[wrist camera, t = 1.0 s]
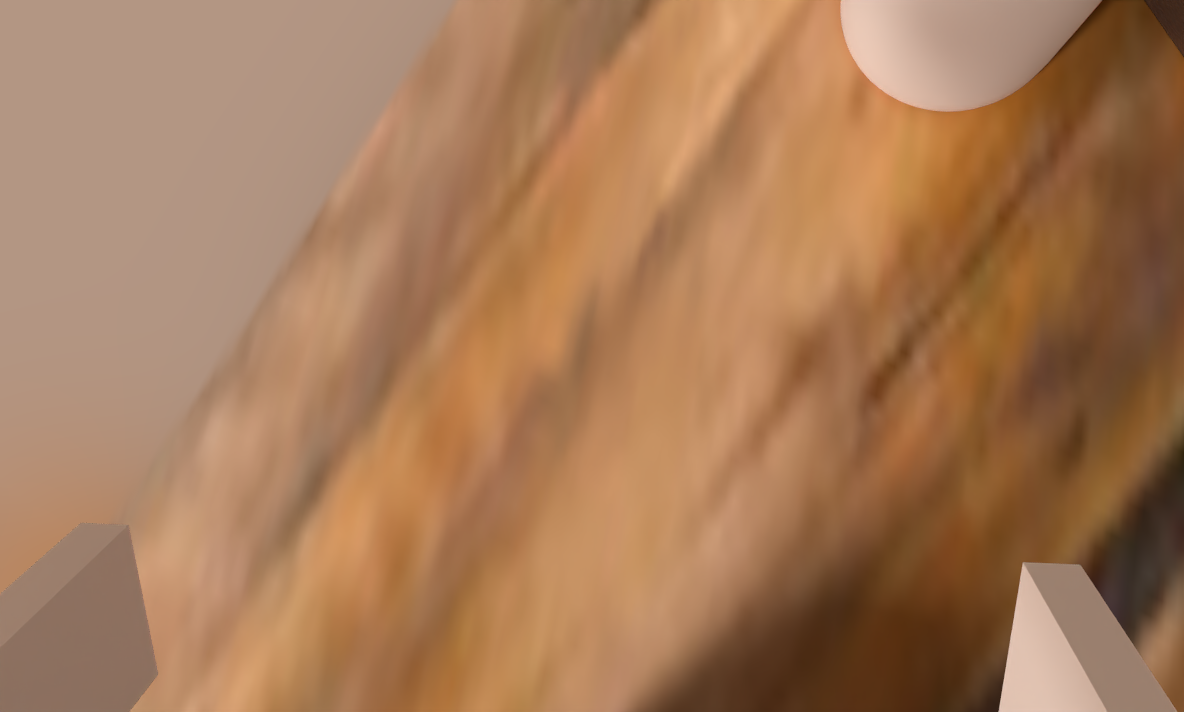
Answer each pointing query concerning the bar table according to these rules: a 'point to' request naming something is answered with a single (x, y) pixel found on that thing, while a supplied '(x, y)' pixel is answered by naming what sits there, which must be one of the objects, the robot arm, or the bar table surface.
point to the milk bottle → (957, 46)
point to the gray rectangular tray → (1170, 19)
